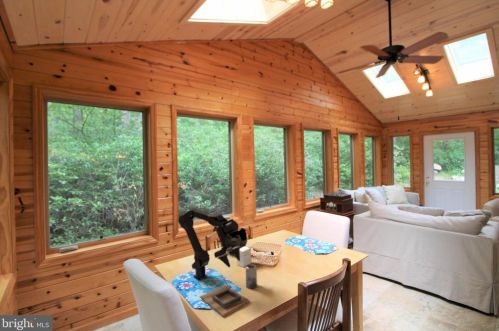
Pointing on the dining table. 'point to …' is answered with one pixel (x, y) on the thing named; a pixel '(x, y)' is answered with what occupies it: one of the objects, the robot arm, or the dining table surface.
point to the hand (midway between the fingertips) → (234, 263)
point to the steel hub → (251, 276)
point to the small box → (244, 257)
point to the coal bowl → (242, 234)
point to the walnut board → (224, 300)
